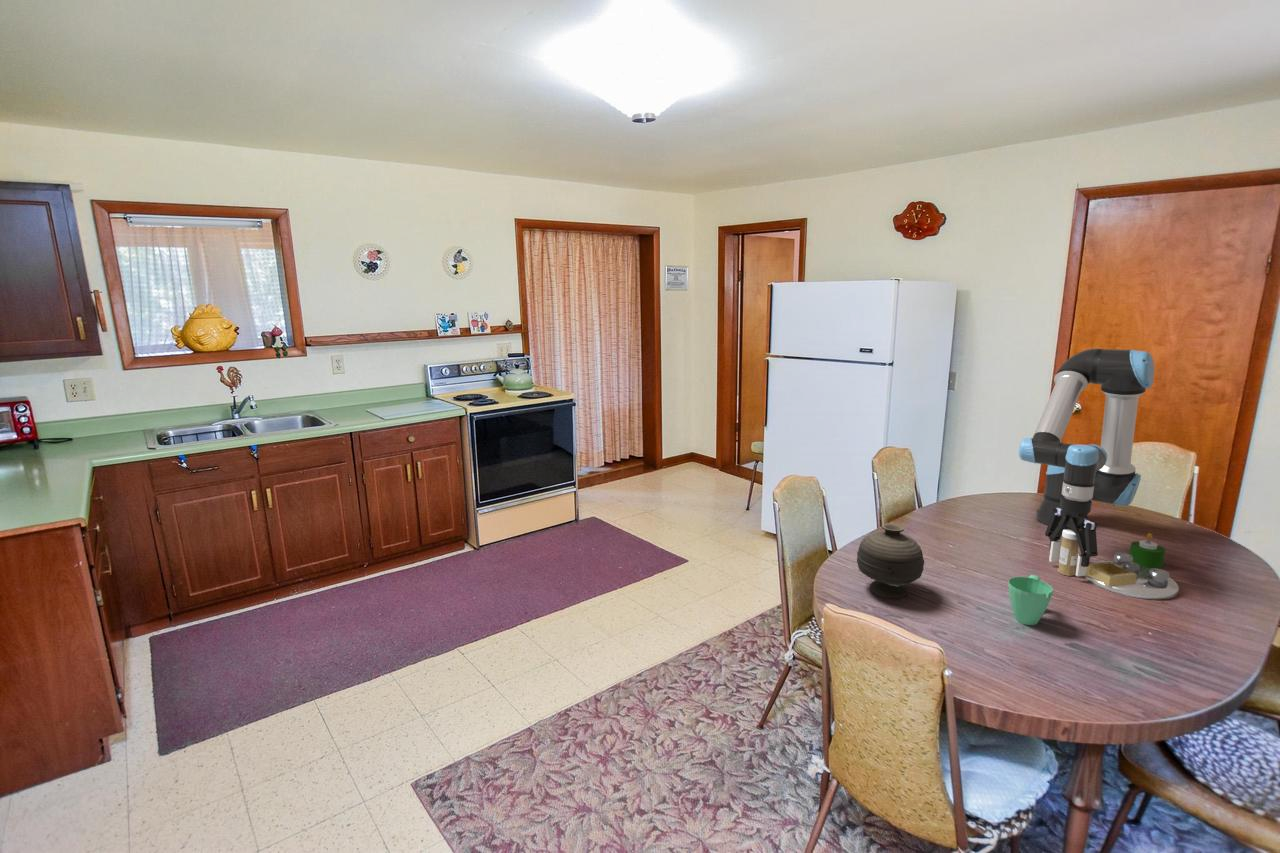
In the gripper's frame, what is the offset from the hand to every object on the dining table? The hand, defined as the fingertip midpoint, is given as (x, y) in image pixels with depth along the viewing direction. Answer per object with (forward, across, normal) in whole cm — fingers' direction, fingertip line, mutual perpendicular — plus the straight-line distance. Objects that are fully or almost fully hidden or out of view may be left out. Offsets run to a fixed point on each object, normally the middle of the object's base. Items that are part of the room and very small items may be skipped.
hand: (1066, 568), depth 187 cm
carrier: (+2, +8, +13) cm, 15 cm away
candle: (+2, -2, +29) cm, 29 cm away
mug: (+2, +21, -30) cm, 37 cm away
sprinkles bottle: (+2, 0, 0) cm, 2 cm away
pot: (+2, +1, -58) cm, 58 cm away
